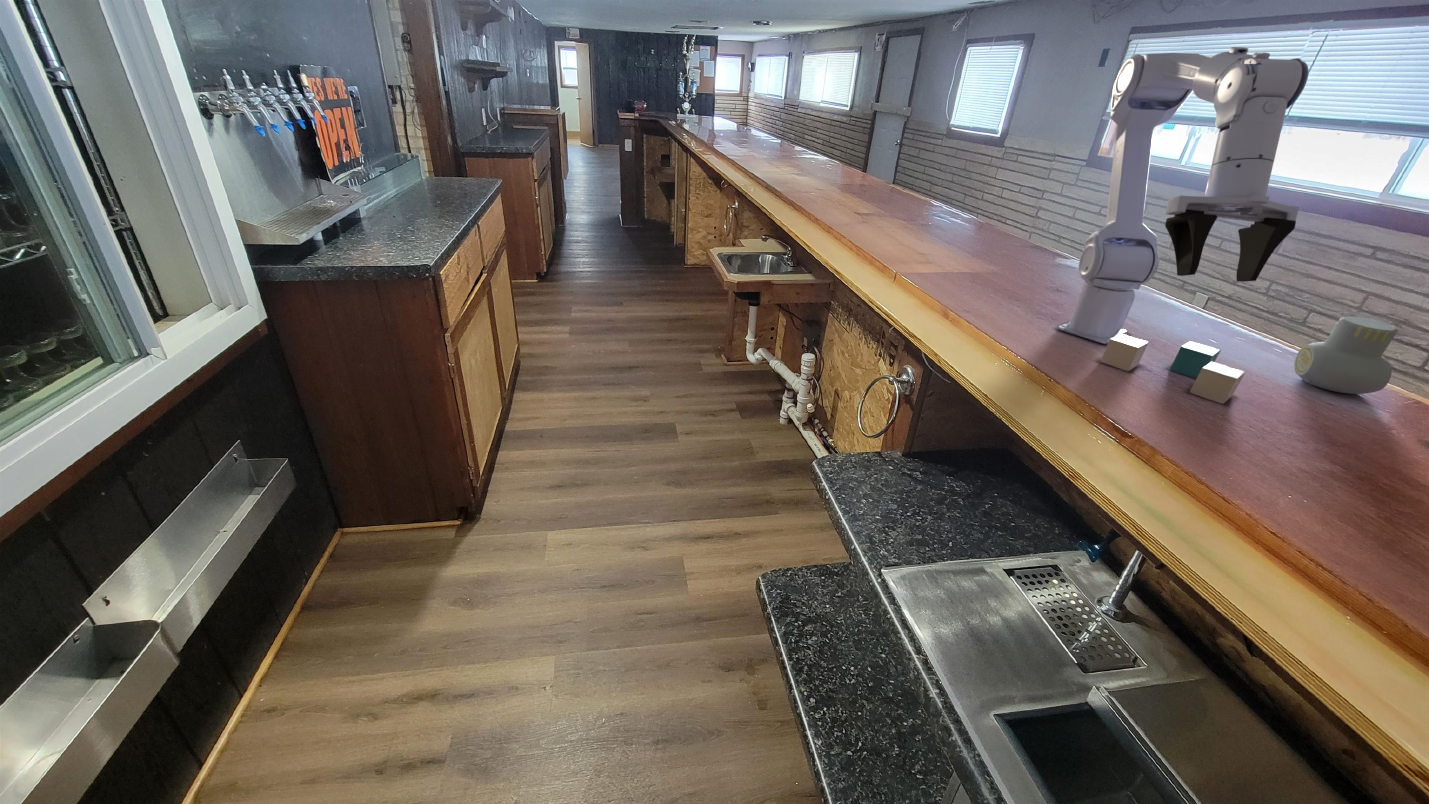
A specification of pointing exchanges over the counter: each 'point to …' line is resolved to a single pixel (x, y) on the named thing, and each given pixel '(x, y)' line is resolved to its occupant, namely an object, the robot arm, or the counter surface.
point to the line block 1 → (1124, 352)
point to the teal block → (1193, 358)
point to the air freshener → (1348, 357)
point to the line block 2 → (1217, 382)
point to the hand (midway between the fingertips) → (1215, 278)
